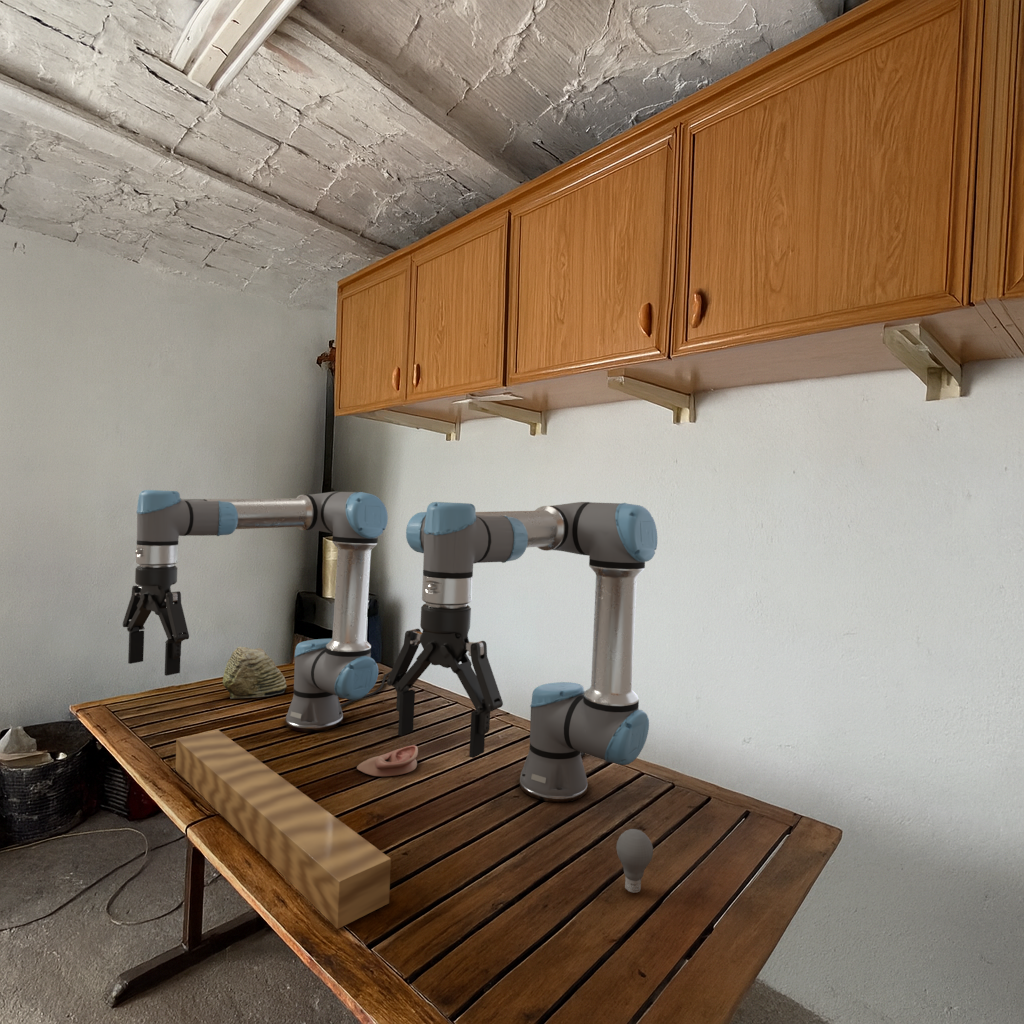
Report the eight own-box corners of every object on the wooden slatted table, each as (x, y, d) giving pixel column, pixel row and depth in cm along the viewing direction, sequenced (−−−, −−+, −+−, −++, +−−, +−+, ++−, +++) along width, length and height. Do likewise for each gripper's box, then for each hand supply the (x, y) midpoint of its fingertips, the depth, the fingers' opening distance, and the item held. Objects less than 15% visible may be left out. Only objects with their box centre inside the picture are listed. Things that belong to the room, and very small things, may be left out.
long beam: (175, 770, 143) (176, 738, 143) (216, 759, 150) (217, 729, 150) (337, 929, 93) (339, 881, 93) (389, 903, 100) (391, 858, 100)
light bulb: (610, 879, 108) (613, 822, 108) (644, 879, 109) (647, 822, 109) (619, 902, 102) (622, 840, 102) (655, 901, 103) (658, 840, 103)
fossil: (218, 695, 195) (220, 647, 195) (278, 685, 208) (279, 640, 207) (228, 703, 189) (230, 653, 188) (289, 692, 201) (290, 645, 201)
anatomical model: (351, 756, 145) (372, 738, 156) (350, 773, 145) (371, 754, 156) (406, 763, 142) (423, 744, 154) (405, 780, 143) (422, 760, 154)
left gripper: (106, 560, 133) (103, 661, 134) (173, 572, 120) (169, 683, 121) (142, 558, 140) (139, 654, 140) (210, 569, 127) (206, 675, 127)
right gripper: (368, 596, 99) (362, 731, 99) (502, 618, 86) (495, 773, 86) (400, 592, 105) (394, 718, 106) (530, 611, 92) (523, 756, 93)
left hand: (153, 668), depth 130 cm, fingers open, 13 cm apart
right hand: (439, 743), depth 96 cm, fingers open, 13 cm apart
